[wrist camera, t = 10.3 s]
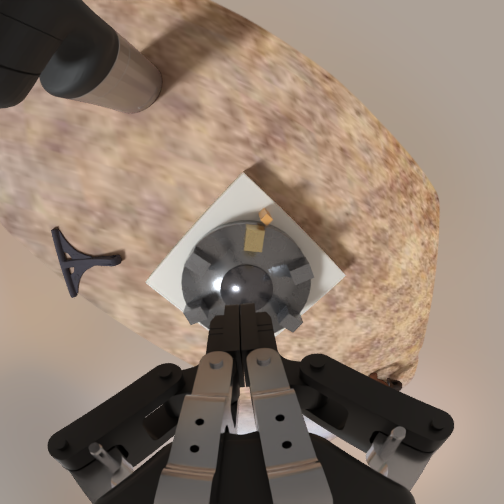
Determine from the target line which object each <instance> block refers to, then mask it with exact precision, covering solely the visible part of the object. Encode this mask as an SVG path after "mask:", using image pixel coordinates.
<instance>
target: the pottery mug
mask: <svg viewBox="0 0 504 504" xmlns="http://www.w3.org/2000/svg"><path fill="white" fill-rule="evenodd" d="M370 378H372V379H374V380H376V381H378V382H380V383H382V384H384V385H386V386H389V387H391V388H393V389H395V390H397V391H400V390H401V388H402V383H401V382H400V381H398V380H391V379H389V378H387V383H388V384H387V383H386V382H384V381H383V380H380V379H377V373H372V374H371V375H370Z"/></svg>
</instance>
